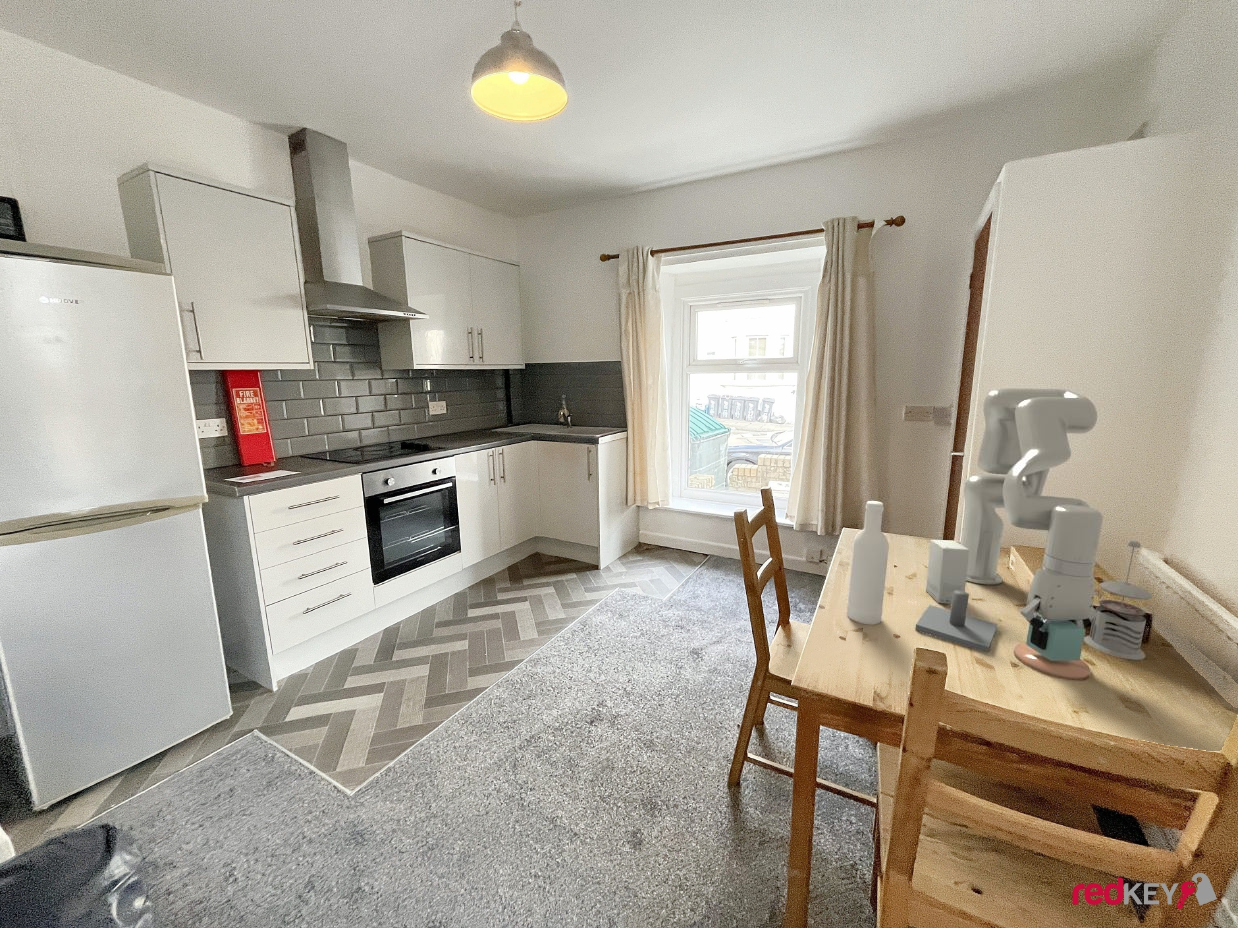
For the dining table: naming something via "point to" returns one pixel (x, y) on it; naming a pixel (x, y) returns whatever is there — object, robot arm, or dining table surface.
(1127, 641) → the french press
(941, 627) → the post board
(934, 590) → the skincare box
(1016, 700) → the dining table surface
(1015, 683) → the dining table surface
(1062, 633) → the block
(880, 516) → the bottle
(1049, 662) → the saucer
